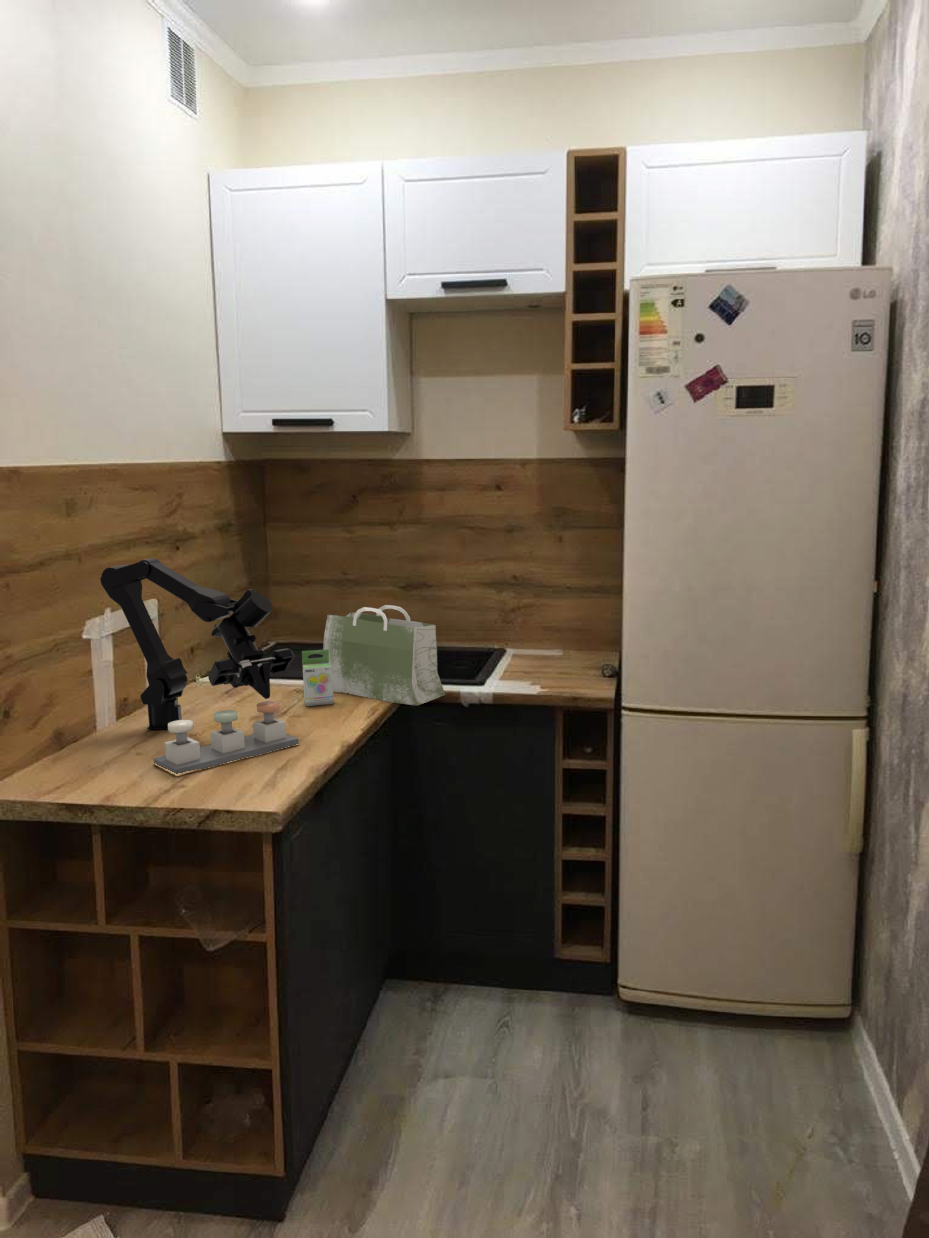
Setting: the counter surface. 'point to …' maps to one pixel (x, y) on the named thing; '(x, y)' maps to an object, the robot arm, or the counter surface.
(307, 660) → the ink box
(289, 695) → the counter surface
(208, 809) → the counter surface
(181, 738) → the cream button
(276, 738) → the console
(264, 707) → the terracotta button
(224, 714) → the sage button
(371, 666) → the grocery bag
